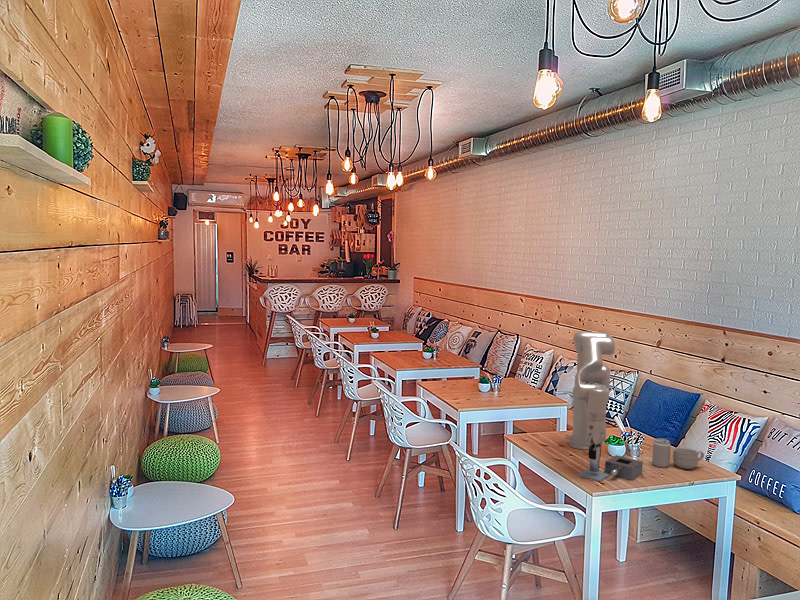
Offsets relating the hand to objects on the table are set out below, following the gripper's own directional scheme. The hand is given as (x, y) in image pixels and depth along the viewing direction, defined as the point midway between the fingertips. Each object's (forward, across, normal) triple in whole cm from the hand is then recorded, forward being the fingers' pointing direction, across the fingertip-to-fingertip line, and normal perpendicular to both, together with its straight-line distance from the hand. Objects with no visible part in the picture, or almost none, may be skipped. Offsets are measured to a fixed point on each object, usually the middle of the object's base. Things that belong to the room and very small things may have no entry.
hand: (594, 457), depth 264 cm
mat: (+8, 0, 0) cm, 8 cm away
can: (+9, +37, -16) cm, 41 cm away
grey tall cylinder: (+6, 0, 0) cm, 6 cm away
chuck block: (+8, +10, -8) cm, 15 cm away
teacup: (+9, +44, -26) cm, 52 cm away
